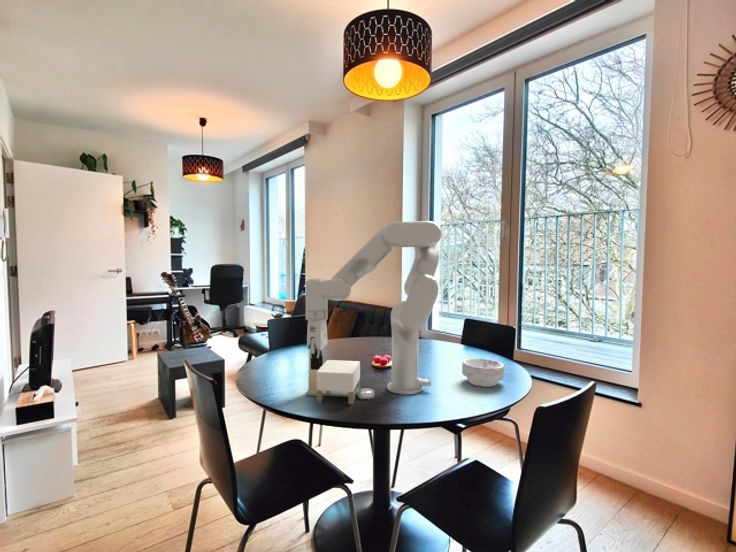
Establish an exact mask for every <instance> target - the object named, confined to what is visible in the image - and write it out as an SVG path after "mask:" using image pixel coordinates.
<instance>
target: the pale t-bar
mask: <svg viewBox="0 0 736 552" xmlns="http://www.w3.org/2000/svg"><path fill="white" fill-rule="evenodd" d="M315 352H317V351H315ZM310 355H311V354H310V350H308V390H306V392H305V396H310V397H311V396H312V397H317V371H318V370H311V358H310ZM357 390H358V387H355V389H354V400H356V398H357ZM322 396H324V397H325V396H328V397H338V398H339V397H340V398H344V397H345V398H348V392H342V391H323V390H322Z"/></svg>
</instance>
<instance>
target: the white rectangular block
mask: <svg viewBox="0 0 736 552" xmlns="http://www.w3.org/2000/svg"><path fill="white" fill-rule="evenodd" d="M355 387H358V390H359V389H361V361H359V360H342V359H341V360H339V359H338V360H337V359H327V360H326V361H325V362H324V363H323V365H322V367H320V369H319V370H318V371H317V396H316V403H320V402H321V403H322V402H323V395H322V390H323V391H342V392H348V397H347V398H348V401H347V403H348V405H353V404H354V402H355V401H354V389H355Z"/></svg>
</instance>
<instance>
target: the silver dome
mask: <svg viewBox="0 0 736 552" xmlns="http://www.w3.org/2000/svg"><path fill="white" fill-rule="evenodd" d="M357 397H358V398H357ZM356 398H357V399H359V398H360V399H359V400H363V399H368V400H373V399H374V398H375V390H374V389H372V388H367V387H366V388H365V387H364V388H363V387H362V388H360V389H359V390H357V396H356Z"/></svg>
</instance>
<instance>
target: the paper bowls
mask: <svg viewBox="0 0 736 552" xmlns="http://www.w3.org/2000/svg"><path fill="white" fill-rule="evenodd" d="M461 363H462V365H461V374H462V375H463V376H464V377H466V379H467V380H468V383H469V384H470V385H471V384H472V385H474V386H477V387H481V386H482V387H481V388H483V387H484V388H490V387H491V386H492V387H495V386H496V385H497V384H498V383H499V381H502V380H504V378H505V377H504V376H505V364H504V363H502V362H500V361H498V360H492V359H489V358H476V357H475V358H473V357H472V358H466V359H464V360H462V362H461Z"/></svg>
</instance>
